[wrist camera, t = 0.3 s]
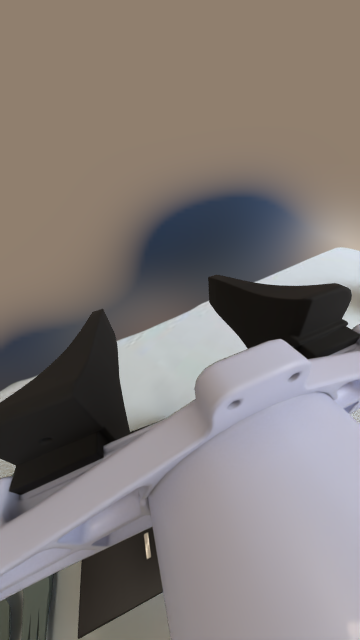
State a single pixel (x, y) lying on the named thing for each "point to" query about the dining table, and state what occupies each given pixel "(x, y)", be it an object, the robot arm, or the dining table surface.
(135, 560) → the dial panel
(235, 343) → the dining table surface
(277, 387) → the robot arm
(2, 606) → the green plate with cutlery
